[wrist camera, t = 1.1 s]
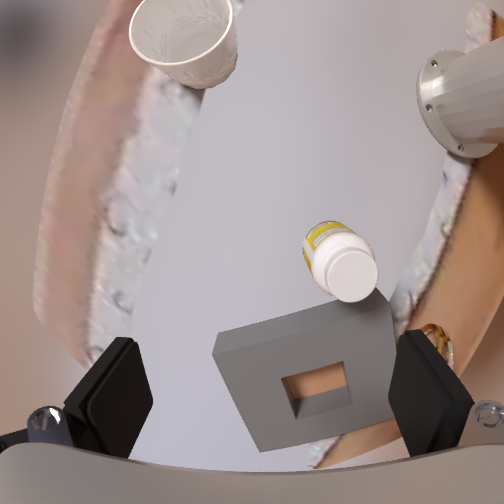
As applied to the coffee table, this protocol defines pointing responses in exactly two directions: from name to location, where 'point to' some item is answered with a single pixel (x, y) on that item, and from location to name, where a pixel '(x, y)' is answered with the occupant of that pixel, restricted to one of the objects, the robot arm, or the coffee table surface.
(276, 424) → the socket block
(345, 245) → the supplement bottle
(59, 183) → the coffee table surface
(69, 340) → the coffee table surface
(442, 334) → the ring
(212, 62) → the white cup
